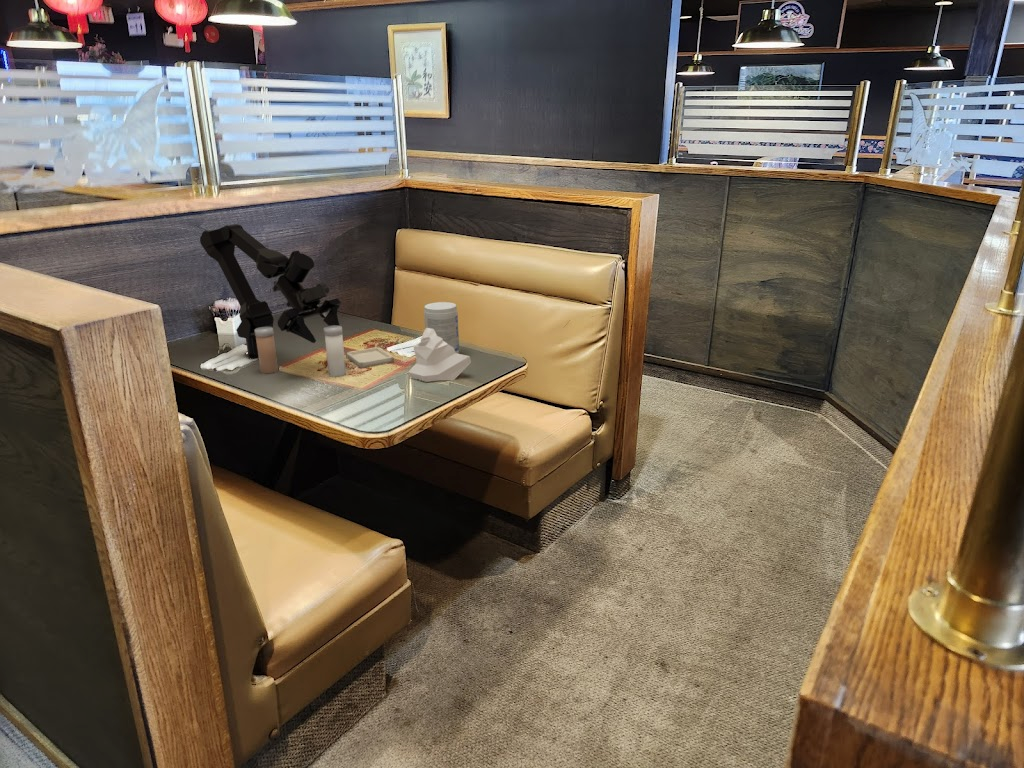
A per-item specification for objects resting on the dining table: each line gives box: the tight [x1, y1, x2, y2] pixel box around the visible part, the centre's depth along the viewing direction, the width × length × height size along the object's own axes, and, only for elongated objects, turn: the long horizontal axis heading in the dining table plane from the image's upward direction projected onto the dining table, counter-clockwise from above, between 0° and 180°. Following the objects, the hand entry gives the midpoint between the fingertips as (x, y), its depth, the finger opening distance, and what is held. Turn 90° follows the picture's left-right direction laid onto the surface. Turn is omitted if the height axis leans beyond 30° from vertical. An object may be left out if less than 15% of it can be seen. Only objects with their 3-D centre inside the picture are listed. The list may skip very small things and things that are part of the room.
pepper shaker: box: [255, 327, 279, 375], centre depth 197 cm, size 5×5×12 cm
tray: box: [345, 346, 395, 369], centre depth 207 cm, size 12×10×2 cm
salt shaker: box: [323, 325, 347, 378], centre depth 194 cm, size 5×5×13 cm
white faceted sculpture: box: [408, 328, 472, 383], centre depth 191 cm, size 12×15×14 cm
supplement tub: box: [423, 301, 460, 354], centre depth 209 cm, size 10×10×15 cm
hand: (327, 337), depth 194 cm, fingers open, 9 cm apart
